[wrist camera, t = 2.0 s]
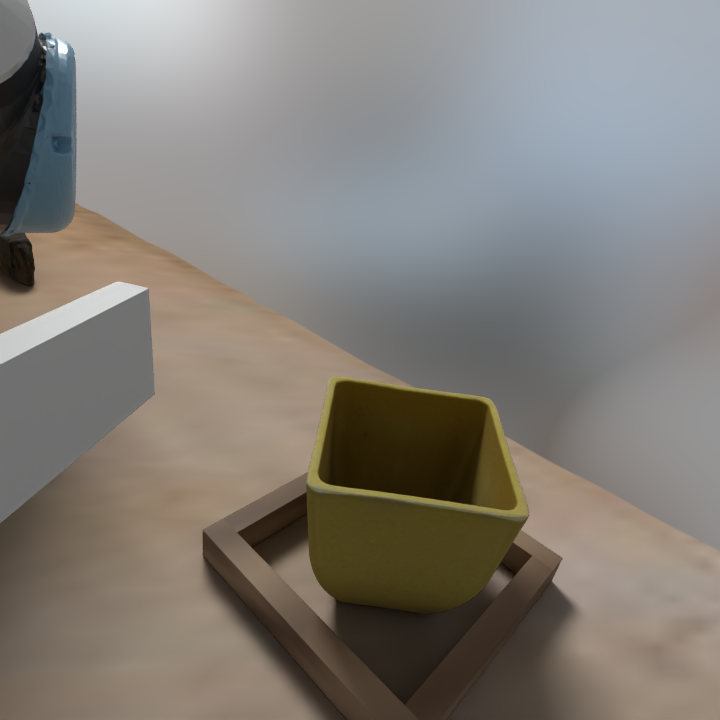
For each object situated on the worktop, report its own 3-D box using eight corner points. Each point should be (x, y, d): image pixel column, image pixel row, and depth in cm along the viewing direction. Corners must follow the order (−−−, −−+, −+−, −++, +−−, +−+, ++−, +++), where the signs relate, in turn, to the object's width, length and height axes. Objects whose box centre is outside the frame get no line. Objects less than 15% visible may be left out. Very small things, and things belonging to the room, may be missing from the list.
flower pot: (286, 633, 23) (303, 484, 19) (313, 498, 31) (330, 371, 27) (475, 660, 24) (533, 520, 19) (455, 520, 31) (494, 397, 27)
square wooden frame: (202, 554, 26) (202, 529, 26) (373, 454, 36) (377, 433, 35) (400, 780, 19) (409, 756, 18) (551, 580, 28) (562, 558, 27)
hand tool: (-36, 236, 61) (-46, 197, 59) (3, 234, 64) (-4, 196, 62) (-1, 294, 50) (-11, 247, 47) (46, 288, 52) (39, 244, 50)
